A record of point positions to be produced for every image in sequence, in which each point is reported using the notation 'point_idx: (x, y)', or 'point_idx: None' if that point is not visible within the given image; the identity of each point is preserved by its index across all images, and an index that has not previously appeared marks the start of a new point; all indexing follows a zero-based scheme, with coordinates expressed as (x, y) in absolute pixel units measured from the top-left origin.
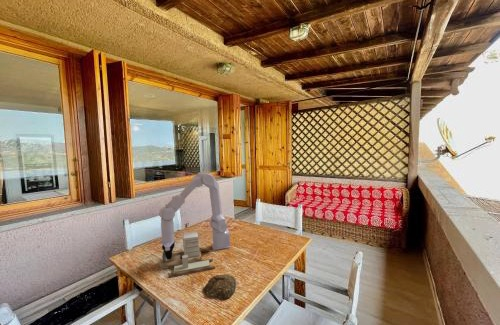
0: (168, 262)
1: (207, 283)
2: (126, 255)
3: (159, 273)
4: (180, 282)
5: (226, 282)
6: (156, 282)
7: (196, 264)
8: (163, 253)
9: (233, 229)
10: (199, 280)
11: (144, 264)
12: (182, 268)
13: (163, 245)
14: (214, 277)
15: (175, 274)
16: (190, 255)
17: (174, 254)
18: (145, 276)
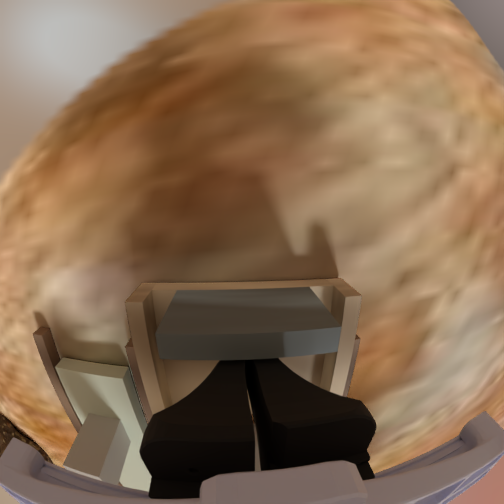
0: (139, 356)
1: (4, 437)
2: (453, 26)
3: (87, 261)
4: (16, 369)
5: None
6: (8, 252)
7: (134, 465)
8: (254, 342)
9: None
10: (40, 428)
11: (301, 101)
12: (91, 413)
13: (250, 454)
14: None
15: (46, 366)
16: None
17: (326, 380)
18: (77, 152)
